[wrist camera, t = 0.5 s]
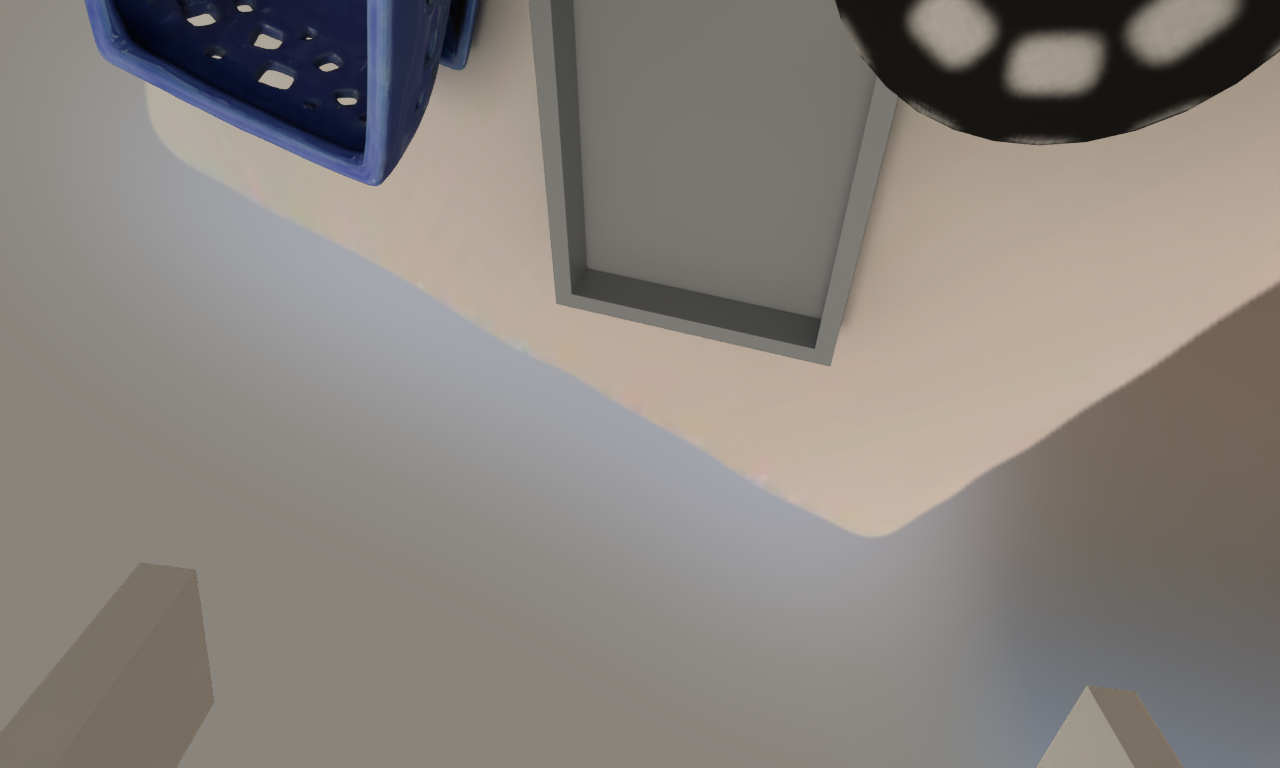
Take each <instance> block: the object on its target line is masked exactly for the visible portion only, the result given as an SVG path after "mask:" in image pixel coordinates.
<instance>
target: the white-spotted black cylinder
mask: <svg viewBox="0 0 1280 768" xmlns="http://www.w3.org/2000/svg"><path fill="white" fill-rule="evenodd" d="M835 2H836V5H837V8H838V12H839V15H840V19H841V21H842V23H843V25H844V26H845V28H846V30H847V32H848V34H849V36H850V38H851V40H852V41H853V43H854V45H855V47H856V49H857V51H858V53H859V55H860V56H861V58H862V59H863V60H864V61H865V62H866V63H867V65H868V66H869V67H870V68H871V69H872V71H873V72H874V73H875V74H876V75H877V77H878V78H879V79H880V80H881V81H882V83H883V84H884V85H885V86H886V87H887V88H888V89H889V90H891V91H892V92H893V93H895V94H896V95H897V96H898V97H900V98H901V99H902V100H903V101H905V102H906V103H907V104H909V105H910V106H911V107H912V108H914V109H915V110H916V111H917V112H919V113H921V114H923V115H925V116H927V117H929V118H931V119H933V120H935V121H937V122H939V123H941V124H943V125H945V126H947V127H949V128H951V129H953V130H957V131H960V132H964V133H967V134H971V135H975V136H978V137H982V138H985V139H989V140H992V141H999V142H1010V143H1020V144H1030V145H1050V144H1064V143H1079V142H1088V141H1092V140H1097V139H1101V138H1106V137H1110V136H1115V135H1119V134H1124V133H1128V132H1132V131H1136V130H1139V129H1141V128H1144V127H1147V126H1149V125H1152V124H1154V123H1157V122H1160V121H1162V120H1165V119H1167V118H1170V117H1173V116H1175V115H1178V114H1181V113H1183V112H1186V111H1188V110H1189V109H1191V108H1193V107H1195V106H1197V105H1198V104H1200V103H1202V102H1204V101H1206V100H1208V99H1209V98H1211V97H1213V96H1215V95H1217V94H1218V93H1220V92H1222V91H1224V90H1226V89H1227V88H1229V87H1231V86H1233V85H1235V84H1237V83H1238V82H1239V81H1241V80H1242V79H1243V78H1245V77H1246V76H1247V75H1249V74H1250V73H1251V72H1253V71H1254V70H1255V69H1257V68H1258V67H1259V66H1261V65H1262V64H1263V63H1265V62H1266V61H1267V60H1269V59H1270V58H1272V57H1273V56H1274V55H1276V54H1277V53H1278V52H1280V0H835Z"/></svg>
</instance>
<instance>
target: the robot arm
mask: <svg viewBox="0 0 1280 768" xmlns="http://www.w3.org/2000/svg"><path fill="white" fill-rule="evenodd" d="M210 675H211V674H210V667H209V660H208V653H207V646H206V639H205V632H204V624H203V617H202V610H201V603H200V595H199V589H198V581H197V574H196V570H193V569H185V568H177V567H170V566H162V565H155V564H147V563H139V565H138V566H137V567H136V568H135V569H134V570H133V572H132V573H131V574H130V575H129V577H128V578H127V579H126V580H125V581H124V583H123V584H122V585H121V586H120V588H119V589H118V590H117V591H116V592H115V594H114V595H113V596H112V597H111V598H110V600H109V601H108V602H107V604H106V605H105V606H104V607H103V608H102V609H101V611H100V612H99V613H98V614H97V615H96V617H95V618H94V619H93V621H92V622H91V623H90V624H89V625H88V626H87V628H86V629H85V630H84V631H83V632H82V634H81V635H80V636H79V637H78V639H77V640H76V641H75V642H74V644H73V645H72V646H71V647H70V648H69V650H68V651H67V652H66V653H65V654H64V656H63V657H62V658H61V659H60V661H59V662H58V663H57V664H56V666H55V667H54V668H53V669H52V670H51V671H50V673H49V674H48V675H47V676H46V677H45V679H44V680H43V681H42V682H41V684H40V685H39V686H38V687H37V688H36V690H35V691H34V692H33V693H32V695H31V696H30V697H29V698H28V699H27V701H26V702H25V703H24V704H23V705H22V707H21V708H20V709H19V710H18V712H17V713H16V714H15V715H14V716H13V718H12V719H11V720H10V721H9V723H8V724H7V725H6V726H5V727H4V729H3V730H2V731H1V732H0V768H177V766H178V765H179V762H180V761H181V759H182V758H183V756H184V754H185V752H186V751H187V749H188V747H189V745H190V744H191V742H192V740H193V738H194V737H195V735H196V733H197V731H198V730H199V728H200V726H201V724H202V723H203V721H204V719H205V718H206V716H207V714H208V712H209V711H210V709H211V707H212V705H213V703H214V696H213V689H212V682H211V676H210ZM1036 768H1183V766H1182V764H1181V763H1180V761H1179V760H1178V758H1177V756H1176V755H1175V753H1174V752H1173V750H1172V749H1171V747H1170V745H1169V744H1168V742H1167V741H1166V739H1165V738H1164V736H1163V734H1162V733H1161V731H1160V730H1159V728H1158V727H1157V725H1156V724H1155V722H1154V720H1153V719H1152V717H1151V715H1150V714H1149V712H1148V711H1147V710H1146V708H1145V706H1144V704H1143V703H1142V701H1141V700H1140V698H1139V697H1138V695H1137V694H1136V692H1134V691H1127V690H1119V689H1111V688H1103V687H1096V686H1086V688H1085V690H1084V691H1083V693H1082V694H1081V696H1080V698H1079V699H1078V701H1077V703H1076V704H1075V706H1074V707H1073V709H1072V711H1071V712H1070V714H1069V716H1068V717H1067V719H1066V720H1065V722H1064V724H1063V725H1062V727H1061V728H1060V730H1059V732H1058V733H1057V735H1056V736H1055V738H1054V740H1053V741H1052V743H1051V744H1050V746H1049V748H1048V750H1047V751H1046V753H1045V754H1044V756H1043V757H1042V759H1041V761H1040V763H1039V764H1038V765H1037V767H1036Z"/></svg>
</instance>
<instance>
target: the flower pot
mask: <svg viewBox="0 0 1280 768" xmlns="http://www.w3.org/2000/svg"><path fill="white" fill-rule="evenodd" d="M85 4H86V8H87V12H88V16H89V20H90V24H91V27H92V31H93V35H94V38H95V42H96V45H97V47H98V50H99V52H100V54H101V55H102V56H103V57H104V58H105V59H106V60H107V61H109V62H110V63H112V64H113V65H115V66H117V67H119V68H121V69H123V70H125V71H127V72H129V73H131V74H133V75H135V76H137V77H139V78H141V79H143V80H145V81H147V82H148V83H150V84H152V85H154V86H156V87H159V88H161V89H163V90H164V91H166V92H168V93H170V94H172V95H174V96H175V97H177V98H179V99H181V100H183V101H185V102H187V103H189V104H191V105H193V106H195V107H198V108H200V109H202V110H204V111H205V112H207V113H209V114H211V115H213V116H215V117H217V118H219V119H221V120H223V121H225V122H227V123H229V124H231V125H233V126H235V127H237V128H239V129H241V130H243V131H245V132H248V133H250V134H252V135H255V136H257V137H259V138H262V139H264V140H266V141H268V142H270V143H273V144H275V145H277V146H279V147H281V148H283V149H286V150H288V151H290V152H292V153H294V154H296V155H298V156H300V157H303V158H305V159H307V160H309V161H311V162H314V163H316V164H318V165H321V166H323V167H325V168H327V169H330V170H332V171H335V172H337V173H339V174H342V175H344V176H346V177H349V178H352V179H354V180H357V181H359V182H362V183H365V184H367V185H372V186H378V185H380V184H381V183H382V182H383V181H384V180H385V179H386V178H387V177H388V176H389V175H390V173H391V172H392V171H393V169H394V168H395V166H396V165H397V164H398V162H399V160H400V159H401V157H402V156H403V154H404V152H405V151H406V149H407V147H408V145H409V144H410V142H411V140H412V138H413V137H414V135H415V133H416V131H417V129H418V127H419V124H420V122H421V120H422V117H423V115H424V113H425V110H426V108H427V105H428V102H429V99H430V96H431V93H432V90H433V86H434V83H435V79H436V75H437V71H438V66H439V64H441V65H444V66H446V67H449V68H452V69H455V70H462V69H464V67H465V66H466V64H467V60H468V56H469V52H470V48H471V42H472V37H473V32H474V26H475V21H476V15H477V10H478V4H479V0H85ZM240 5H249V6H251V8H252V10H253V11H250V12H241V11H239V10H238V9H237V6H240ZM202 14H210V15H211V16H212V17H213V18H214V19H215V21H216V22H215V23H213V24H210V25H205V26H194V25H192V24H191V23H190V22H188V20H187V19H188V18H192V17H195V16H199V15H202ZM260 34H265V35H267V36H270V37H272V38H275V39H277V40H280V41H282V44H281V45H280V47H279V48H277V49H264V48H261V47H257V46H254V44H255V42H256V40H257V38H258V36H259V35H260ZM307 37H309V38H313V39H310V40H307V39H306V38H307ZM214 55H216V56H220V57H222V58H221V59H217V58H213V57H212V56H214ZM327 63H334V64H335V65H337V66H338V67H339V68H338V69H335V70H332V71H328V72H325V71H322V70H321V69H319V67H320V66H322V65H324V64H327ZM267 70H274V71H278V72H281V73H284V74H286V75H289V76H291V77H293V78H294V81H293V83H292V85H291V86H290V87H289V88H288V89H279V88H276V87H272V86H269V85H267V84H264V83H261V82H258V81H259V79H260V78H261V77H262V75H263V74H264V73H265V72H266V71H267ZM338 98H355V99H356V100H357V103H356V104H354V105H342V104H340V103H339V102H338V100H337V99H338ZM365 122H366V123H365Z"/></svg>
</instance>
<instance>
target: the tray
mask: <svg viewBox="0 0 1280 768" xmlns="http://www.w3.org/2000/svg"><path fill="white" fill-rule="evenodd" d="M529 6H530V17H531V28H532V39H533V50H534V61H535V72H536V83H537V94H538V105H539V116H540V128H541V139H542V150H543V161H544V172H545V183H546V194H547V205H548V216H549V227H550V238H551V249H552V260H553V271H554V282H555V293H556V304H560V305H564V306H569V307H573V308H577V309H582V310H586V311H590V312H595V313H599V314H604V315H608V316H612V317H617V318H621V319H625V320H630V321H634V322H638V323H643V324H647V325H652V326H656V327H660V328H665V329H669V330H673V331H678V332H682V333H686V334H691V335H695V336H700V337H704V338H708V339H713V340H717V341H721V342H726V343H730V344H734V345H739V346H743V347H747V348H752V349H756V350H761V351H765V352H769V353H774V354H778V355H782V356H787V357H791V358H795V359H800V360H804V361H809V362H813V363H817V364H822V365H826V366H830V365H831V361H832V357H833V353H834V349H835V346H836V342H837V338H838V334H839V330H840V326H841V322H842V318H843V314H844V310H845V306H846V302H847V298H848V294H849V290H850V286H851V282H852V278H853V274H854V270H855V266H856V262H857V258H858V254H859V250H860V246H861V242H862V238H863V234H864V230H865V226H866V223H867V219H868V215H869V211H870V207H871V203H872V199H873V195H874V191H875V187H876V183H877V179H878V175H879V171H880V167H881V163H882V159H883V155H884V151H885V147H886V143H887V139H888V135H889V131H890V127H891V123H892V119H893V115H894V111H895V107H896V103H897V100H898V96H897V95H896V94H895V93H893V92H892V91H891V90H889V89H888V88H887V87H886V86H885V85H884V84H883V83H882V81H881V80H880V79H879V78H878V77H877V75H876V74H875V73H874V72H873V71H872V69H871V68H870V67H869V66H868V65H867V63H866V62H865V61H864V60H863V59H862V58H861V56H860V55H859V53H858V51H857V49H856V47H855V45H854V43H853V41H852V40H851V38H850V36H849V34H848V32H847V30H846V28H845V26H844V25H843V23H842V21H841V19H840V15H839V12H838V8H837V5H836V2H835V0H529Z"/></svg>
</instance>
